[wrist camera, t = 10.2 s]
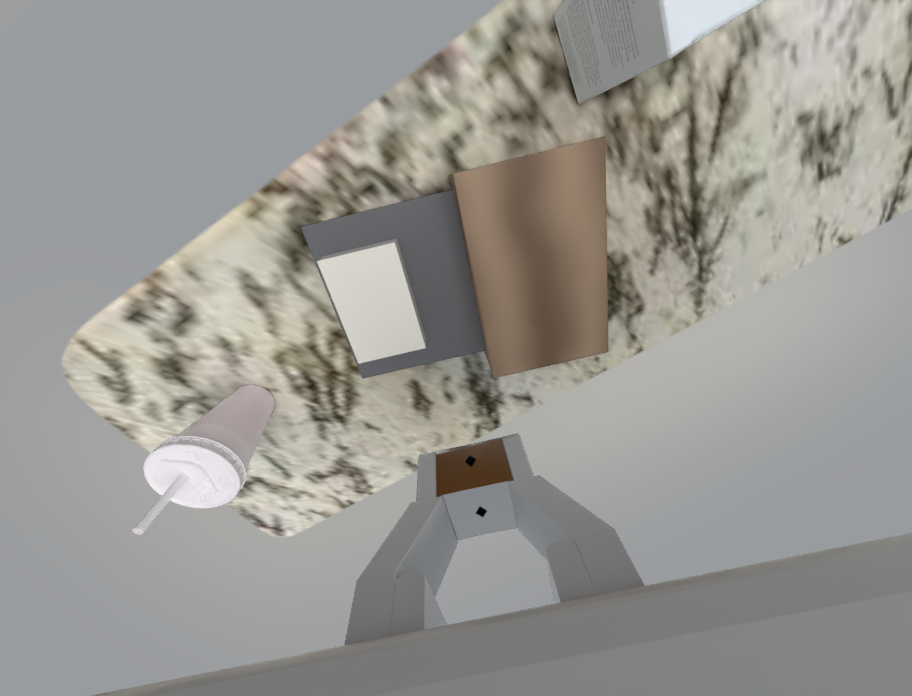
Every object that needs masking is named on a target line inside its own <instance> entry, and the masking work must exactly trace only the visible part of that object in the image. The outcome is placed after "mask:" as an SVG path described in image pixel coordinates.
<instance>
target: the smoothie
mask: <svg viewBox="0 0 912 696" xmlns="http://www.w3.org/2000/svg"><path fill="white" fill-rule="evenodd" d="M274 406H275V401H274V398H273V396H272V395H271V393H270V392H269V391H267V390H266V389H264V388H262V387H260V386H257V385H245V386H242V387H240V388H239V389H237V390H236V391H235V392H234V393H232V394H231V395H230V396H228V397H227V398H226V399H224V400H223V401H222V402H221V403H219V404H218V405H217V406H215V407H214V408H213V409H211V410H210V411H209V412H208V413H206V414H205V415H204V416H202V417H201V418H200V419H198V420H197V421H196V422H195V423H193V424H192V425H191V426H189V427H188V428H187V429H185V430H184V431H183V432H181V433H180V434H179V435H178V436H176V437H174V438H169V439H168V440H166V441H164V442H162V443H160V444H159V445H158V446H157V447H156V448H155V449H154V451H153V452H152V453H151V454H150V455H149V456H148V457H147V459H146V461H145V463H144V475H145V478H146V480H147V482H148V483H149V485H150V486H151V487H152V488H153V489H154V490H155V491H156V492H157V493H158V494H160V495H161V497H160V499H159V500H158V501H157V502H156V503H155V505H154V506H153V507H152V508H151V509H150V510H149V511H148V513H147V514H146V515H145V516H144V517H143V519H142V520H141V521H140V522H139V523H138V524H137V526H136V527H135V528H134V529H133V532H134V533H136V534H143V533H144V531H145V530H146V529H147V528H148V526H149V525H150V524H151V523H152V522H153V520H154V519H155V518H156V517H157V515H158V514H159V513H160V512H161V510H162V509H163V508H164V507H165V506H166V504H167V503H168V502H169V501H172V502H174V503H177V504H179V505H183V506H187V507H193V508H212V507H217V506H221V505H223V504H226V503H228V502H229V501H231V500H232V499H233V498H234V497H235V496H236V495H237V493H238V491H239V490H240V489H241V488H242V487H243V485H244V483H245V481H246V469H247V466H248V464H249V462H250V460H251V457H252V455H253V453H254V451H255V449H256V446H257V444H258V442H259V440H260V437H261V435H262V433H263V431H264V429H265V426H266V424H267V422H268V420H269V418H270V415H271V413H272V411H273V409H274Z"/></svg>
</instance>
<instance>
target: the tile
mask: <svg viewBox="0 0 912 696" xmlns="http://www.w3.org/2000/svg"><path fill="white" fill-rule="evenodd" d="M317 263H318V265H319V268H320V270H321V273H322V275H323V278H324V280H325V283H326V285H327V288H328V290H329V292H330V295H331V297H332V300H333V302H334V305H335V307H336V310H337V312H338V315H339V317H340V319H341V322H342V324H343V327H344V329H345V332H346V334H347V337H348V339H349V342H350V344H351V347H352V349H353V351H354V354H355V356H356V359H357V361H358V364H360V363H364V362H368V361H373V360H377V359H381V358H385V357H390V356H394V355H398V354H403V353H407V352H411V351H415V350H420V349H424V348H426V337H425V333H424V330H423V326H422V323H421V319H420V316H419V313H418V309H417V306H416V302H415V299H414V295H413V292H412V288H411V285H410V281H409V278H408V275H407V271H406V268H405V264H404V261H403V257H402V254H401V250H400V247H399V243H398V240H397V239H392V240H388V241H384V242H380V243H376V244H372V245H368V246H364V247H360V248H356V249H351V250H347V251H343V252H339V253H335V254H331V255H327V256H324V257H322V258H321V259H319V260H318V261H317Z"/></svg>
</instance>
